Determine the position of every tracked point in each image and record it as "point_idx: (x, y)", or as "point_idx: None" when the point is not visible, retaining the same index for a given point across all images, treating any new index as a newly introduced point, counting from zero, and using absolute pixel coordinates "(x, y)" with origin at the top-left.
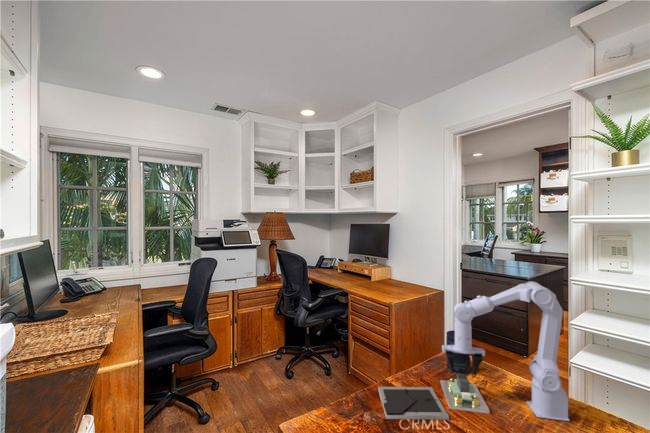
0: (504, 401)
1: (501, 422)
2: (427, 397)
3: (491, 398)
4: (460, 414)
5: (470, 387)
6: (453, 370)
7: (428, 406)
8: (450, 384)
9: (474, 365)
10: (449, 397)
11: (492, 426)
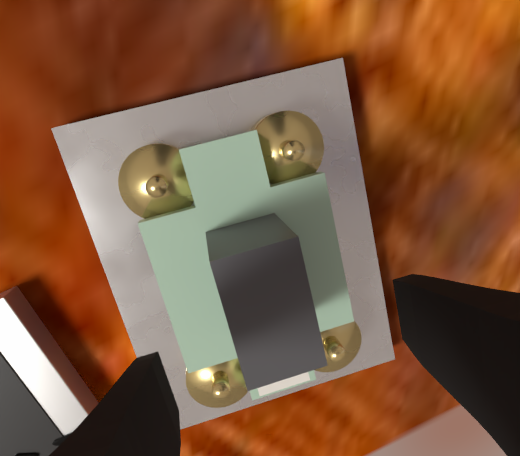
0: (493, 179)
1: (429, 390)
2: (7, 442)
3: (423, 181)
4: (231, 437)
5: (312, 230)
6: (174, 445)
7: None
8: (151, 263)
9: (488, 408)
10: (158, 350)
11: (381, 441)
